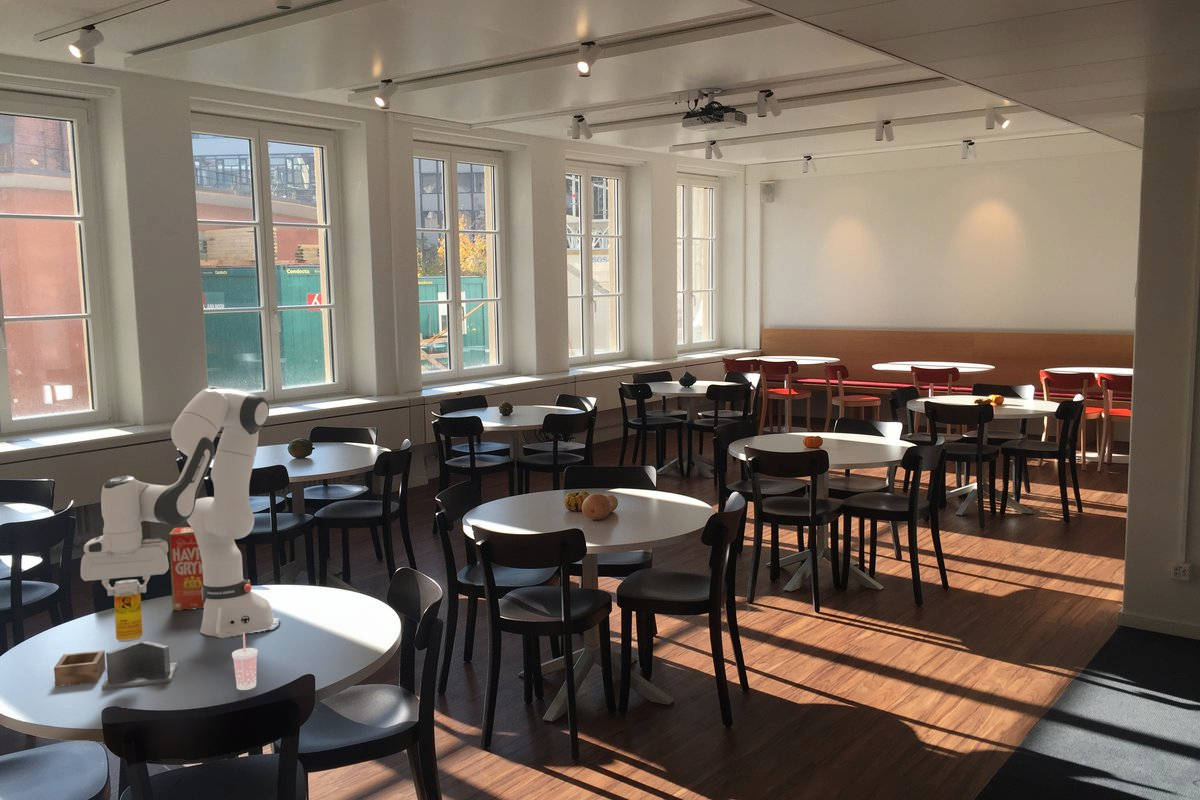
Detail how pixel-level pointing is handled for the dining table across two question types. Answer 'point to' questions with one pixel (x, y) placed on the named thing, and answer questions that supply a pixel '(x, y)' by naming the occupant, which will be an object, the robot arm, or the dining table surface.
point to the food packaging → (185, 569)
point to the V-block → (138, 665)
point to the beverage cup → (245, 667)
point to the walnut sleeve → (80, 668)
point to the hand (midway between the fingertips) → (127, 593)
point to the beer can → (127, 610)
